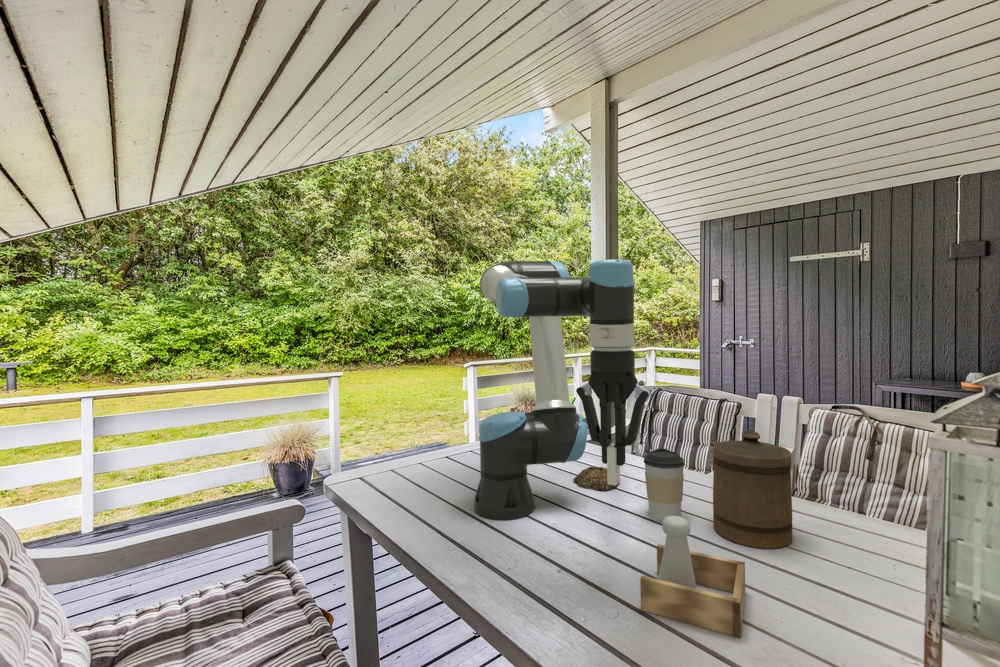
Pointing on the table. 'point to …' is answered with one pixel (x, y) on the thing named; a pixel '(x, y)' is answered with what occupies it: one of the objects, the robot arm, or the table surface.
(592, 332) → the robot arm
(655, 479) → the coffee cup
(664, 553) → the salt shaker
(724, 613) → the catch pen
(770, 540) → the wooden container
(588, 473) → the bread roll
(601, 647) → the table surface
